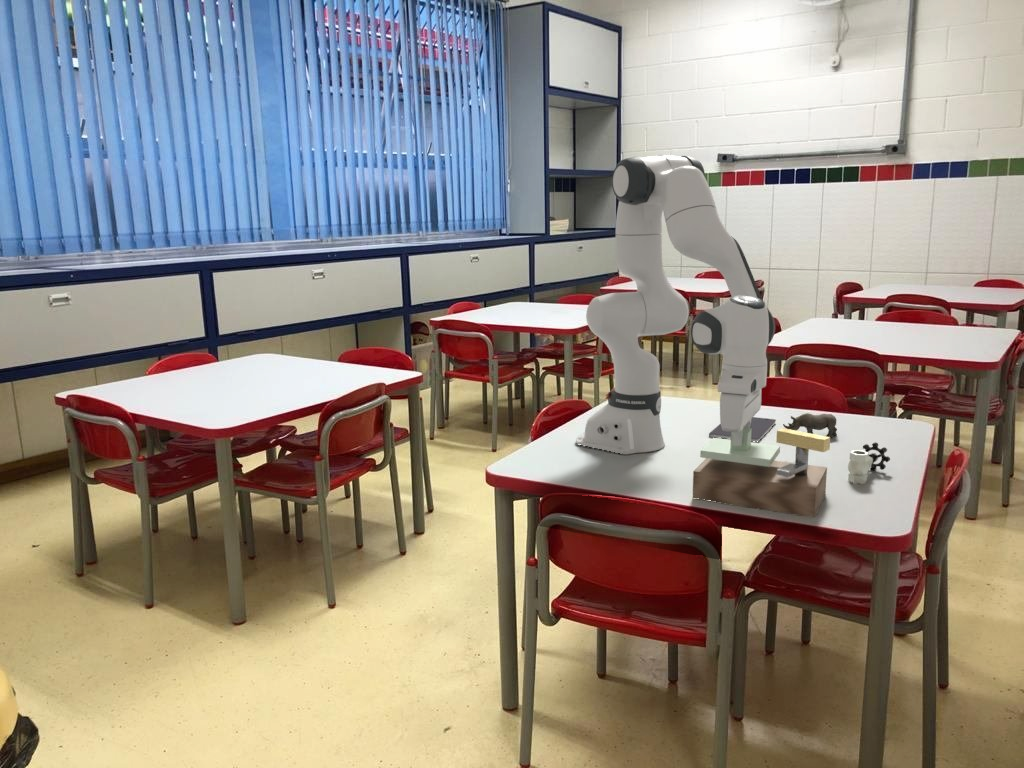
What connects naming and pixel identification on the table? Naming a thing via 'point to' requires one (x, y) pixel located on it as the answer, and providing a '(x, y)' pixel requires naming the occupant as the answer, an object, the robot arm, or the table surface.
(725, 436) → the notebook
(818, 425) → the rhino figurine
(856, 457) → the valve
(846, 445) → the table surface
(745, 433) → the cover
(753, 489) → the walnut box
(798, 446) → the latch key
